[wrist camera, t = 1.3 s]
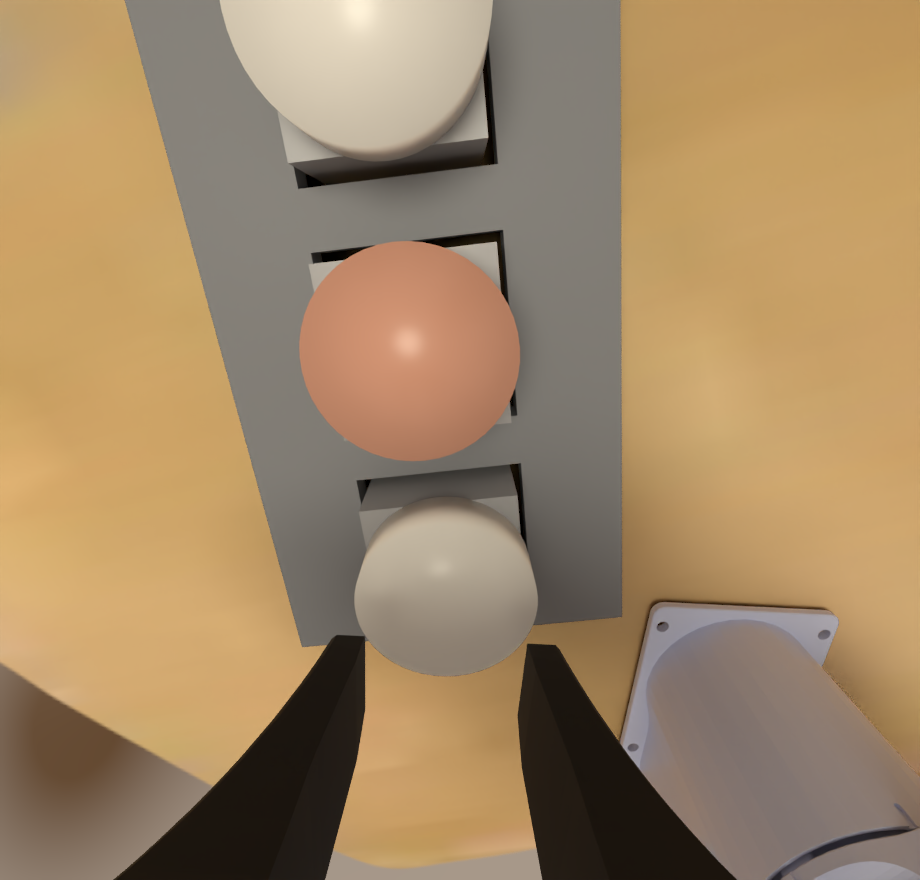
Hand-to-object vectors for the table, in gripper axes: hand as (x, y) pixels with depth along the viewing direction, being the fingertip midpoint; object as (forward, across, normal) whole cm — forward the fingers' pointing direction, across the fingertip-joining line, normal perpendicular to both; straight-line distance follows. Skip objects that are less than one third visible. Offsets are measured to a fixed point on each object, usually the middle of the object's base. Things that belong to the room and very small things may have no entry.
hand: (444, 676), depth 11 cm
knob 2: (+7, 0, 0) cm, 7 cm away
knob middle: (+7, +1, -6) cm, 10 cm away
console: (+9, +1, -6) cm, 11 cm away
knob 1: (+7, +2, -13) cm, 15 cm away
